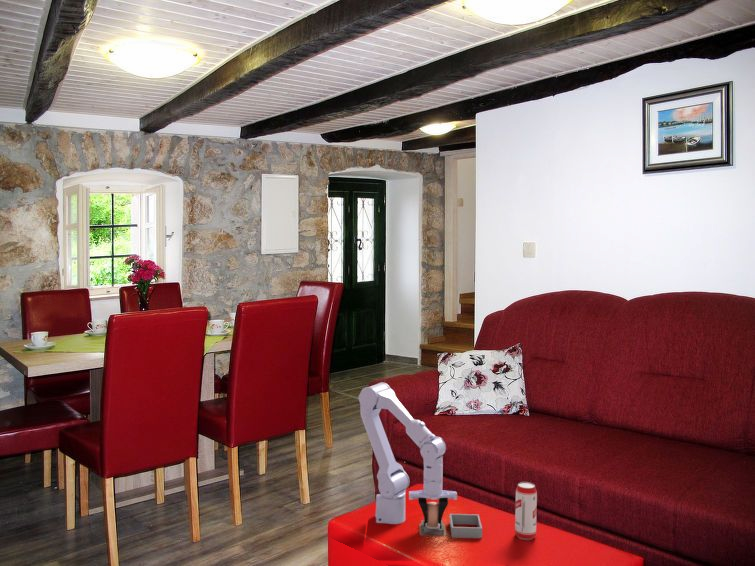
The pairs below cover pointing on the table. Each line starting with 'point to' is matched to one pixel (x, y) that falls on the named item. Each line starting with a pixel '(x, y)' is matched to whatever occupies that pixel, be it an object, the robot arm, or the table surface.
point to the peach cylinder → (432, 516)
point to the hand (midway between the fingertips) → (432, 521)
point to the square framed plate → (432, 530)
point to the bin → (465, 531)
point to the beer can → (525, 511)
